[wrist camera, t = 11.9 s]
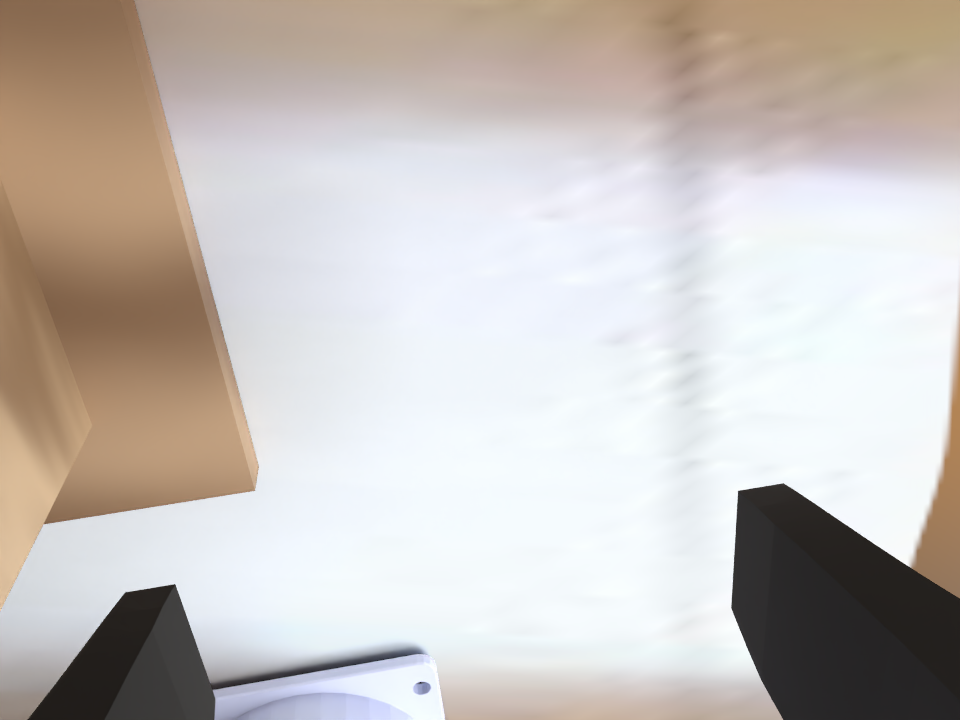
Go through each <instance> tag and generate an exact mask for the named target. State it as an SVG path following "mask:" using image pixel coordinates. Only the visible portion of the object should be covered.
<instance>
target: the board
mask: <svg viewBox="0 0 960 720" xmlns="http://www.w3.org/2000/svg"><path fill="white" fill-rule="evenodd" d="M0 178H1V181H2V184H3V186H4V189H5V192H6V194H7V197H8V200H9V203H10V205H11V208H12V211H13V213H14V216H15V219H16V221H17V224H18V227H19V230H20V232H21V235H22V238H23V240H24V243H25V246H26V248H27V251H28V254H29V257H30V259H31V262H32V265H33V267H34V270H35V273H36V275H37V278H38V281H39V284H40V286H41V289H42V292H43V294H44V297H45V300H46V302H47V305H48V308H49V311H50V313H51V316H52V319H53V321H54V324H55V327H56V329H57V332H58V335H59V338H60V340H61V343H62V346H63V348H64V351H65V354H66V357H67V359H68V362H69V365H70V367H71V370H72V373H73V375H74V378H75V381H76V384H77V386H78V389H79V392H80V394H81V397H82V400H83V402H84V405H85V408H86V411H87V413H88V416H89V419H90V421H91V424H92V427H91V429H90V431H89V433H88V435H87V437H86V439H85V441H84V443H83V445H82V447H81V449H80V451H79V453H78V455H77V457H76V459H75V461H74V463H73V465H72V467H71V469H70V471H69V473H68V475H67V477H66V479H65V481H64V483H63V486H62V488H61V490H60V492H59V494H58V496H57V498H56V500H55V502H54V504H53V506H52V508H51V510H50V512H49V514H48V516H47V518H46V520H45V522H44V524H48V523H55V522H61V521H67V520H73V519H80V518H86V517H92V516H99V515H105V514H111V513H117V512H124V511H130V510H136V509H143V508H149V507H155V506H161V505H168V504H174V503H180V502H187V501H193V500H199V499H206V498H212V497H218V496H224V495H231V494H237V493H243V492H250V491H255V487H256V481H257V474H258V468H259V466H258V462H257V458H256V455H255V451H254V447H253V443H252V440H251V436H250V432H249V428H248V425H247V421H246V417H245V414H244V410H243V406H242V402H241V399H240V395H239V391H238V387H237V384H236V380H235V376H234V372H233V369H232V365H231V361H230V358H229V354H228V350H227V346H226V343H225V339H224V335H223V331H222V328H221V324H220V320H219V316H218V313H217V309H216V305H215V301H214V298H213V294H212V290H211V287H210V283H209V279H208V275H207V272H206V268H205V264H204V260H203V257H202V253H201V249H200V245H199V242H198V238H197V234H196V231H195V227H194V223H193V219H192V216H191V212H190V208H189V204H188V201H187V197H186V193H185V189H184V186H183V182H182V178H181V174H180V171H179V167H178V163H177V160H176V156H175V152H174V148H173V145H172V141H171V137H170V133H169V130H168V126H167V122H166V118H165V115H164V111H163V107H162V103H161V100H160V96H159V92H158V89H157V85H156V81H155V77H154V74H153V70H152V66H151V62H150V59H149V55H148V51H147V47H146V44H145V40H144V36H143V33H142V29H141V25H140V21H139V18H138V14H137V10H136V6H135V3H134V0H0Z"/></svg>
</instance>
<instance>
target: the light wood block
mask: <svg viewBox="0 0 960 720" xmlns="http://www.w3.org/2000/svg"><path fill="white" fill-rule="evenodd" d="M91 427H92V424H91V421H90V419H89V416H88V413H87V411H86V408H85V405H84V402H83V400H82V397H81V394H80V392H79V389H78V386H77V384H76V381H75V378H74V375H73V373H72V370H71V367H70V365H69V362H68V359H67V357H66V354H65V351H64V348H63V346H62V343H61V340H60V338H59V335H58V332H57V329H56V327H55V324H54V321H53V319H52V316H51V313H50V311H49V308H48V305H47V302H46V300H45V297H44V294H43V292H42V289H41V286H40V284H39V281H38V278H37V275H36V273H35V270H34V267H33V265H32V262H31V259H30V257H29V254H28V251H27V248H26V246H25V243H24V240H23V238H22V235H21V232H20V230H19V227H18V224H17V221H16V219H15V216H14V213H13V211H12V208H11V205H10V203H9V200H8V197H7V194H6V192H5V189H4V186H3V184H2V181H1V178H0V611H1V609H2V606H3V604H4V602H5V600H6V598H7V596H8V594H9V592H10V590H11V588H12V586H13V584H14V582H15V580H16V578H17V576H18V574H19V572H20V570H21V568H22V566H23V564H24V562H25V560H26V558H27V556H28V554H29V552H30V550H31V548H32V546H33V544H34V542H35V540H36V538H37V536H38V534H39V532H40V530H41V528H42V526H43V524H44V522H45V520H46V518H47V516H48V514H49V512H50V510H51V508H52V506H53V504H54V502H55V500H56V498H57V496H58V494H59V492H60V490H61V488H62V486H63V483H64V481H65V479H66V477H67V475H68V473H69V471H70V469H71V467H72V465H73V463H74V461H75V459H76V457H77V455H78V453H79V451H80V449H81V447H82V445H83V443H84V441H85V439H86V437H87V435H88V433H89V431H90V429H91Z"/></svg>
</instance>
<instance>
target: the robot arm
mask: <svg viewBox="0 0 960 720" xmlns="http://www.w3.org/2000/svg"><path fill="white" fill-rule="evenodd" d="M731 608H732V611H733V613H734V616H735V618H736V621H737V623H738V626H739V628H740V631H741V633H742V636H743V638H744V641H745V643H746V646H747V648H748V650H749V653H750V655H751V657H752V660H753V662H754V664H755V667H756V669H757V671H758V673H759V676H760V678H761V680H762V682H763V684H764V686H765V688H766V689H767V691H768V693H769V695H770V697H771V698H772V700H773V702H774V704H775V706H776V707H777V709H778V711H779V713H780V714H781V716H782V718H783V720H960V598H958V597H956V596H955V595H953V594H951V593H950V592H948V591H946V590H945V589H943V588H941V587H940V586H938V585H937V584H935V583H933V582H932V581H930V580H929V579H927V578H926V577H924V576H922V575H921V574H919V573H918V572H916V571H915V570H913V569H911V568H910V567H908V566H907V565H905V564H904V563H902V562H901V561H899V560H898V559H896V558H894V557H893V556H891V555H890V554H888V553H887V552H885V551H884V550H882V549H881V548H879V547H878V546H876V545H875V544H873V543H872V542H870V541H869V540H867V539H866V538H864V537H863V536H861V535H860V534H858V533H857V532H855V531H854V530H853V529H851V528H850V527H848V526H847V525H845V524H844V523H842V522H841V521H839V520H838V519H836V518H835V517H833V516H832V515H830V514H829V513H827V512H826V511H825V510H823V509H822V508H820V507H819V506H817V505H816V504H814V503H813V502H811V501H810V500H808V499H807V498H805V497H804V496H802V495H801V494H799V493H798V492H796V491H795V490H793V489H791V488H790V487H788V486H787V485H785V484H784V483H783V484H777V485H771V486H765V487H759V488H753V489H747V490H741V491H738V504H737V521H736V538H735V555H734V573H733V590H732V607H731ZM419 682H425V683H423V684H417V683H419ZM28 720H445V715H444V709H443V703H442V697H441V692H440V686H439V680H438V674H437V668H436V663H435V661H434V659H433V658H431V657H430V656H428V655H424V654H415V655H409V656H404V657H398V658H392V659H387V660H381V661H375V662H370V663H364V664H358V665H352V666H347V667H341V668H335V669H330V670H324V671H318V672H313V673H307V674H301V675H295V676H290V677H284V678H278V679H273V680H267V681H261V682H256V683H250V684H244V685H238V686H233V687H227V688H221V689H216V690H212V687H211V685H210V682H209V679H208V676H207V673H206V670H205V668H204V665H203V662H202V659H201V656H200V653H199V651H198V648H197V645H196V642H195V639H194V636H193V633H192V631H191V628H190V625H189V622H188V619H187V616H186V614H185V611H184V608H183V605H182V602H181V599H180V597H179V594H178V591H177V588H176V585H175V584H174V585H168V586H162V587H156V588H150V589H144V590H138V591H132V592H126V593H125V594H124V595H123V596H122V597H121V599H120V600H119V601H118V603H117V604H116V605H115V606H114V608H113V609H112V610H111V611H110V613H109V614H108V615H107V617H106V618H105V619H104V620H103V622H102V623H101V624H100V626H99V627H98V628H97V630H96V631H95V632H94V634H93V635H92V636H91V638H90V639H89V640H88V642H87V643H86V644H85V646H84V647H83V648H82V650H81V651H80V652H79V654H78V655H77V656H76V658H75V659H74V660H73V662H72V663H71V664H70V666H69V667H68V668H67V670H66V671H65V672H64V673H63V675H62V676H61V677H60V679H59V680H58V681H57V683H56V684H55V685H54V687H53V688H52V689H51V691H50V692H49V693H48V694H47V696H46V697H45V698H44V699H43V701H42V702H41V703H40V705H39V706H38V707H37V708H36V710H35V711H34V712H33V713H32V715H31V716H30V717H29V719H28Z"/></svg>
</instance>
